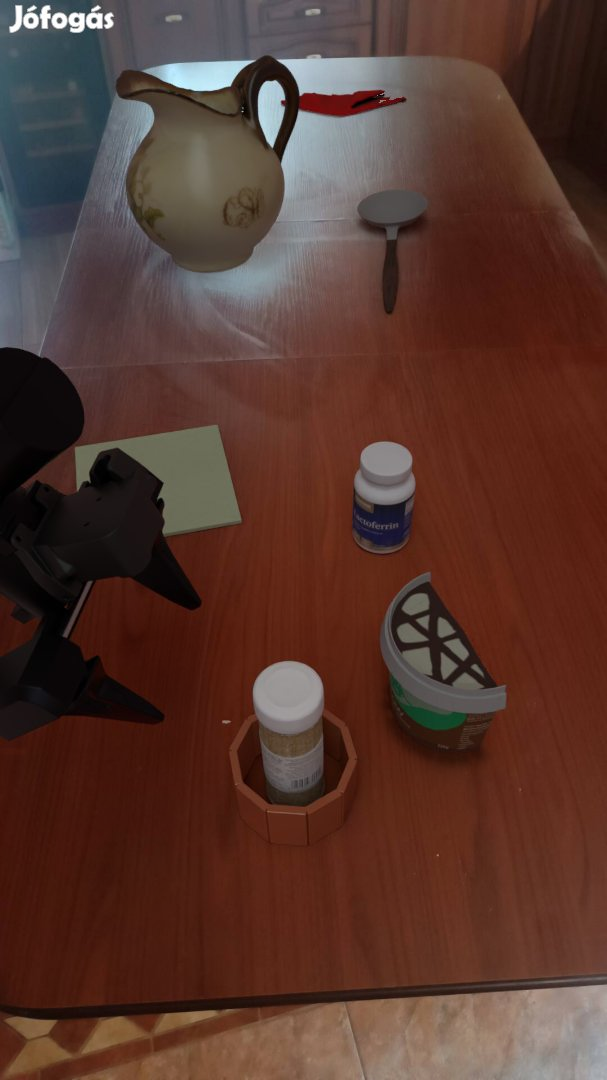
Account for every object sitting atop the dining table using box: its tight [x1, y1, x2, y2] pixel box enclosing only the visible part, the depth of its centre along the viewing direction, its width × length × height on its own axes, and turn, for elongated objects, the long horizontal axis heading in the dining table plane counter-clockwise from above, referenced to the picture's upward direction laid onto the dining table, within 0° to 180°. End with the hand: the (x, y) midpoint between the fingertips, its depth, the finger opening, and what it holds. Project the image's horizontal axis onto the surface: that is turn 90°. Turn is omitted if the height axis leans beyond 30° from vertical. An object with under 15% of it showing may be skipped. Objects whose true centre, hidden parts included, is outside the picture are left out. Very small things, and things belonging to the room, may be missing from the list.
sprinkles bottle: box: [252, 660, 326, 807], centre depth 55 cm, size 5×5×14 cm
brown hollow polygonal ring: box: [228, 707, 358, 847], centre depth 59 cm, size 9×9×5 cm
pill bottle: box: [351, 441, 417, 555], centre depth 75 cm, size 6×6×10 cm
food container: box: [379, 571, 507, 754], centre depth 61 cm, size 12×6×10 cm, turn 21°
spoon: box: [356, 189, 429, 313], centre depth 118 cm, size 11×33×3 cm, turn 175°
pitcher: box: [115, 54, 301, 273], centre depth 112 cm, size 22×24×25 cm
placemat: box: [74, 424, 243, 538], centre depth 84 cm, size 16×16×1 cm
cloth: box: [280, 89, 408, 117], centre depth 164 cm, size 26×14×2 cm, turn 79°
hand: (180, 660), depth 53 cm, fingers open, 9 cm apart
